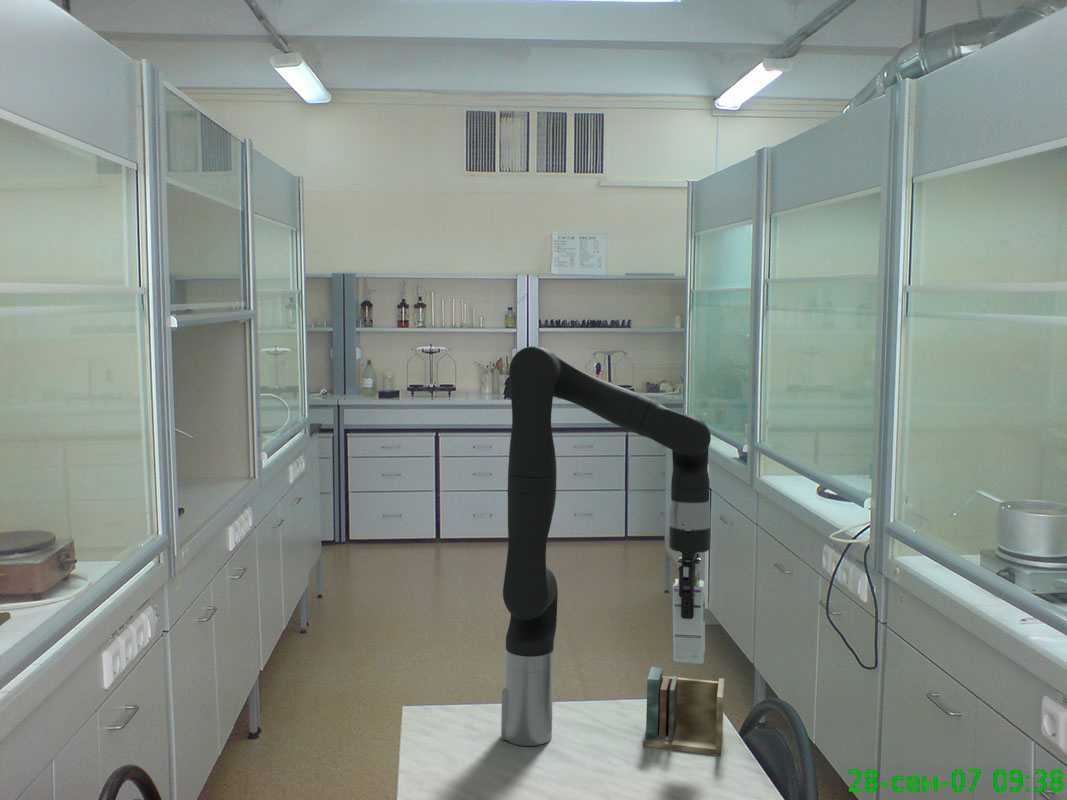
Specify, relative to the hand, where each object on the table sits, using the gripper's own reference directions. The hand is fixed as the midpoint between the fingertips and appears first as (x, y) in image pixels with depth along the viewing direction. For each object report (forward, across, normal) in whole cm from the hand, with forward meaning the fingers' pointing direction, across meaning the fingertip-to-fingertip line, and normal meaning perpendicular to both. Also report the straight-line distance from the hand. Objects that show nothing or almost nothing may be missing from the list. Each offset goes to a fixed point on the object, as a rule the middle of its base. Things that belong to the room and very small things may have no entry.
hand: (688, 613), depth 170 cm
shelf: (+26, -4, -1) cm, 26 cm away
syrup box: (+9, 0, 0) cm, 9 cm away
